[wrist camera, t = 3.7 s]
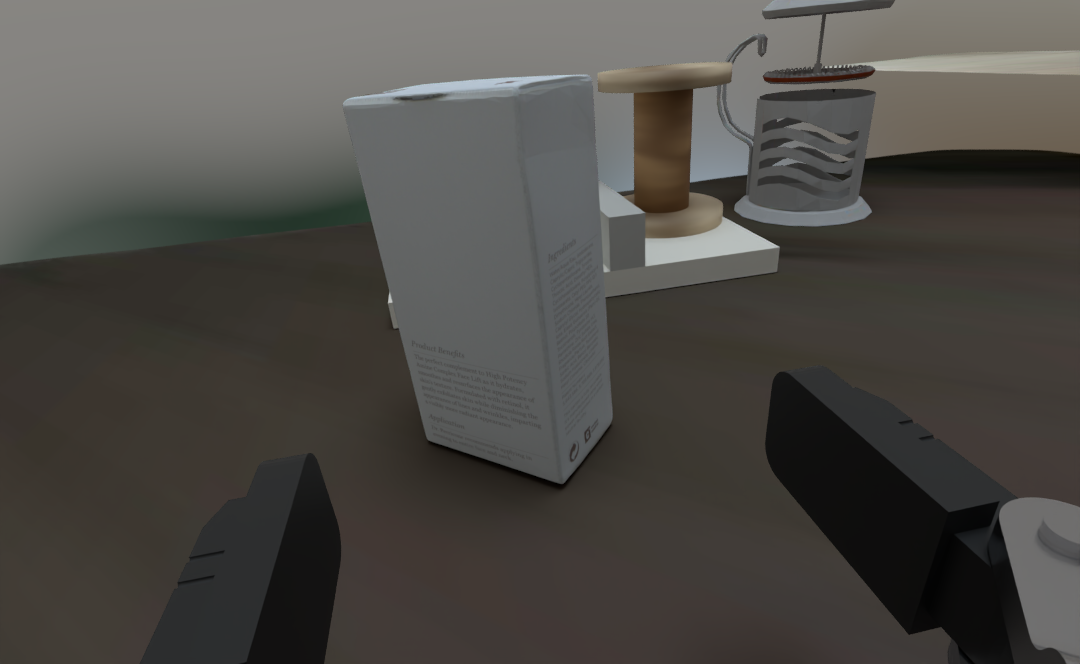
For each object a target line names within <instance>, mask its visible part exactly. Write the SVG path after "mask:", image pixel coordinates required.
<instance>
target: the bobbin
mask: <svg viewBox="0 0 1080 664" xmlns="http://www.w3.org/2000/svg"><path fill="white" fill-rule="evenodd" d="M731 77H732V63H731V62H704V63H687V64H670V65H658V66H647V67H636V68H627V69H618V70H611V71H605V72H600V73H598V91H599V92H603V93H604V92H605V93H634V194H633V195H628V196H624V198H625V199H627V200H628V201H629V202H631V203H632V204H634V205H635V206H636V207H638V208H639V209H641V210H642V211H643V212H645V238H677V237H686V236H692V235H697V234H701V233H705V232H708V231H710V230H713V229H715V228H716V227H718V226H719V225H720V224H721V223H722V216H723V203H722V202H721V201H720V200H718V199H716V198H714V197H711V196H708V195H703V194H698V193H689V185H690V158H691V132H692V104H693V89H695V88H703V87H711V86H717V85H722V84H727V83H730V82H731Z"/></svg>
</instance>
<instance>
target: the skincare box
mask: <svg viewBox="0 0 1080 664" xmlns="http://www.w3.org/2000/svg"><path fill="white" fill-rule="evenodd" d="M343 110H344V114H345V118H346V121H347V125H348V129H349V133H350V137H351V141H352V145H353V148H354V152H355V156H356V160H357V164H358V169H359V172H360V176H361V180H362V184H363V188H364V192H365V196H366V200H367V204H368V208H369V212H370V216H371V220H372V224H373V228H374V232H375V235H376V239H377V243H378V247H379V251H380V255H381V259H382V263H383V267H384V271H385V275H386V279H387V283H388V287H389V291H390V295H391V299H392V303H393V307H394V311H395V315H396V319H397V323H398V327H399V331H400V335H401V339H402V342H403V346H404V350H405V354H406V359H407V362H408V366H409V369H410V373H411V378H412V382H413V386H414V390H415V394H416V398H417V402H418V406H419V410H420V414H421V418H422V423H423V426H424V430H425V434H426V438H427V439H428V440H429V441H431V442H434V443H437V444H440V445H443V446H447V447H450V448H453V449H456V450H459V451H462V452H465V453H468V454H471V455H474V456H477V457H480V458H483V459H486V460H489V461H492V462H495V463H498V464H501V465H504V466H507V467H510V468H513V469H516V470H519V471H522V472H525V473H528V474H531V475H534V476H537V477H540V478H544V479H547V480H550V481H553V482H556V483H559V484H563V483H565V482H566V480H567V479H568V478H569V477H570V476H571V474H572V473H573V472H574V471H575V470H576V468H577V467H578V466H579V465H580V464H581V463H582V461H583V460H584V459H585V457H586V456H587V455H588V453H589V452H590V451H591V449H592V448H593V447H594V446H595V444H596V443H597V442H598V441H599V439H600V438H601V436H602V435H603V434H604V432H605V431H606V430H607V428H608V427H609V426H610V424H611V421H612V418H613V414H612V401H611V386H610V366H609V349H608V335H607V318H606V300H605V285H604V268H603V253H602V235H601V215H600V201H599V182H598V169H597V155H596V146H595V117H594V99H593V86H592V79H591V77H590V76H589V75H561V76H530V77H511V78H495V79H482V80H468V81H458V82H446V83H434V84H423V85H417V86H411V87H406V88H401V89H396V90H391V91H385V92H380V93H374V94H368V95H363V96H358V97H353V98H349V99H347V100H346V101H344V104H343Z"/></svg>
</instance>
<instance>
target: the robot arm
mask: <svg viewBox="0 0 1080 664" xmlns="http://www.w3.org/2000/svg"><path fill="white" fill-rule="evenodd" d="M765 447H766V454H767V458H768V462H769V464H770V467H771V469H772V471H773V472H774V474H775V475H776V477H777V478H778V479H779V481H780V482H781V483H782V484H783V485H784V486H785V488H786V489H787V490H788V491H789V492H790V494H791V495H792V496H793V497H794V498H795V500H796V501H797V502H798V503H799V504H800V506H801V507H802V508H803V509H804V510H805V511H806V513H807V514H808V515H809V516H810V517H811V519H812V520H813V521H814V522H815V523H816V525H817V526H818V527H819V528H820V529H821V531H822V532H823V533H824V534H825V535H826V537H827V538H828V539H829V540H830V541H831V542H832V544H833V545H834V546H835V547H836V548H837V550H838V551H839V552H840V553H841V554H842V556H843V557H844V558H845V559H846V560H847V562H848V563H849V564H850V565H851V566H852V567H853V569H854V570H855V571H856V572H857V573H858V575H859V576H860V577H861V578H862V579H863V581H864V582H865V583H866V584H867V585H868V587H869V588H870V589H871V590H872V591H873V593H874V594H875V595H876V596H877V597H878V598H879V600H880V601H881V602H882V603H883V604H884V606H885V607H886V608H887V609H888V610H889V612H890V613H891V614H892V615H893V616H894V618H895V619H896V620H897V621H898V622H899V623H900V625H901V626H902V627H903V628H904V629H905V631H906V632H907V633H908V634H909V635H910V634H914V633H918V632H922V631H926V630H930V629H934V628H938V627H942V628H943V629H944V630H945V632H946V633H947V634H948V635H949V636H950V637H951V638H952V639H951V642H950V645H949V648H948V664H1080V507H1077V506H1074V505H1071V504H1068V503H1065V502H1061V501H1057V500H1051V499H1045V498H1034V497H1032V498H1020V499H1019V498H1017V497H1016V496H1015V495H1013V494H1012V493H1011V492H1009V491H1008V490H1007V489H1005V488H1004V487H1003V486H1001V485H1000V484H999V483H997V482H996V481H994V480H993V479H992V478H990V477H989V476H988V475H986V474H985V473H984V472H982V471H981V470H980V469H978V468H977V467H976V466H974V465H973V464H972V463H970V462H969V461H968V460H966V459H965V458H964V457H962V456H961V455H960V454H958V453H957V452H955V451H954V450H953V449H951V448H950V447H949V446H947V445H946V444H945V443H943V442H942V441H941V440H939V439H936V440H935V439H934V437H933V434H931V433H930V432H929V431H927V430H926V429H925V428H923V427H922V426H921V425H919V424H918V423H916V424H914V423H913V421H912V419H911V418H910V417H908V416H907V415H906V414H904V413H903V412H902V411H900V410H899V409H898V408H896V407H895V406H894V405H892V404H891V403H890V402H888V401H886V400H884V399H882V398H879V397H877V396H875V395H872V394H870V393H868V392H866V391H863V390H861V389H859V388H856V387H855V388H853V387H851V386H850V385H849V384H848V383H846V382H845V381H844V380H842V379H841V378H840V377H839V376H837V375H836V374H835V373H833V372H832V371H831V370H829V369H828V368H826V367H824V366H821V365H818V366H812V367H807V368H801V369H795V370H790V371H784V372H779V373H778V374H777V375H776V376H775V378H774V380H773V384H772V391H771V399H770V407H769V416H768V424H767V432H766V441H765ZM189 558H190V562H189V563H186V565H185V567H184V570H183V572H182V574H181V576H180V578H179V580H178V588H177V589H174V591H173V593H172V595H171V598H170V600H169V602H168V604H167V606H166V608H165V610H164V613H163V615H162V617H161V619H160V621H159V623H158V626H157V628H156V630H155V632H154V634H153V636H152V638H151V641H150V643H149V645H148V647H147V649H146V651H145V653H144V656H143V658H142V660H141V662H140V664H324V660H325V654H326V648H327V642H328V636H329V629H330V623H331V617H332V611H333V605H334V599H335V592H336V586H337V580H338V574H339V568H340V561H341V540H340V532H339V527H338V523H337V519H336V516H335V513H334V510H333V507H332V504H331V501H330V498H329V495H328V492H327V489H326V485H325V482H324V479H323V476H322V473H321V470H320V467H319V464H318V461H317V459H316V457H315V456H314V455H313V454H312V453H308V454H303V455H297V456H291V457H286V458H280V459H274V460H268V461H263V462H261V463H260V465H259V466H258V468H257V471H256V473H255V476H254V478H253V481H252V483H251V486H250V488H249V491H248V494H247V496H246V497H243V498H238V499H232V500H228V502H227V503H226V504H225V505H224V506H223V507H222V508H221V509H220V510H219V511H218V512H217V513H216V514H215V515H214V516H213V517H212V519H211V520H210V521H209V522H208V523H207V524H206V525H205V526H204V527H203V529H202V531H201V533H200V535H199V537H198V539H197V542H196V544H195V546H194V548H193V550H192V552H191V555H190V557H189Z"/></svg>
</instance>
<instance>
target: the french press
mask: <svg viewBox="0 0 1080 664" xmlns="http://www.w3.org/2000/svg"><path fill="white" fill-rule="evenodd" d="M894 1H895V0H774V1H773V2H772V3H770V4H769V5H768V6H767V7H766V8H765V9H764V10H763V11H762V14H763V16H764V18H765V19H776V18H789V17H800V16H811V15H820V14H821V15H822V14H823V15H822V23H821V31H820V39H819V47H818V55H817V63H816V64H815V66H814V67H813V69H811V67H809V68H808V69H806V67H804V68H803V70H802V69H801V68H800V69H801V70H800V69H799V70H798V68H795V69H797V71H795V69H794V70H793V69H786V70H780V71H781V72H780V71H778V70H775V71H772V72H766V73H765V74H764V75H763V78H764V80H765V81H766V82H768V83H770V84H812V83H829V82H842V81H849V80H857V79H863V78H867V77H869V76H871V75H872V74H873V73H874V71H875V68H873V67H871V66H866V65H865V66H863V65H858V66H855V65H854V66H853V68H852V66H851V65H850V66H849V68H847V67H848V65H846V66H845V68H843V67H844V66H843V65H842V67H841V68H838V67H839V65H838V66H837V68H834V66H833V67H832V68H829V66H828V68H825V66H823V68H822V64H821V63H820V58H821V50H822V43H823V35H824V27H825V19H826V14H833V13H843V12H853V11H863V10H873V9H882V8H890V7H891V6H892V4H893V3H894ZM762 38H763V39H762ZM756 39H758V54H759V55H760V56H761V57H762V56H763V55H764V54H765V53H766V47H767V37H766V36H765V35H764V34H758V35H752V36H751V37H749V38H748V39H747V40H745V41H743V42H742V43H741V44H739V45H738V46H737V47H736V48H735V49H734V50H733V51H732V52H731V53H730V54H729V55H728V57H727V59H726V62H729V61H730V59H731V58H732V56H733V55H734V56H733V58H732V60H731V61H730V62H731V63H732V65H733V63H734V61H735V59H736V57H737V56H738V55H739V53H740V52H741V51H742V50H743V49H744V48H745V47H746V46H747V45H748V44H750V43H751V42H753V41H755V40H756ZM762 42H763V49H762ZM854 67H855V68H854ZM858 67H859V68H858ZM860 67H861V68H860ZM863 67H864V68H863ZM821 68H822V69H821ZM804 69H805V70H804ZM791 70H793V71H791ZM783 71H785V72H783ZM777 72H778V73H777ZM852 78H854V79H852ZM844 79H845V80H844ZM816 81H818V82H816ZM785 82H791V83H785ZM720 92H721V85H717V105H718V111H719V115H720V117H721V120H722V122H723V125H724V126H725V127H726V128H727V130H728V131H729V132H730V133H731V134H732V135H733V136H735V137H737V138H738V139H740V140H742V141H744V142H745V143H747V144H748V145H749V148H750V151H749V165H748V177H747V190H746V195H745V196H744V197H743V198H742V199H740V200H739V201H738V202H737V203H736V204H735V208H734V211H736V212H737V213H738V214H740V215H741V216H743V217H745V218H749V219H752V220H756V221H759V222H764V223H771V224H779V225H787V226H826V225H837V224H846V223H850V222H853V221H857V220H861V219H864V218H865V217H867V216H868V215H869V214H870V213H871V212H872V211H871V209H870V207H869V206H868V204H867V203H866V202H865V201H864V200H863V199H862V197H860V196H859V191H860V185H861V179H862V173H863V167H864V161H865V155H866V149H867V143H868V137H869V131H870V125H871V119H872V113H873V107H874V102H875V96H876V92H874V91H870V90H862V89H817V90H800V91H788V92H779V93H772V94H766V95H763V96H760V99H757V109H756V121H755V132H754V137H753V136H751V135H750V134H748V133H746V132H744V131H742V130H740V128H739V127H738V126H737V125H736V124H735V123H734V122H733V121H732V119H731V116H730V113H729V111H728V108H727V103H726V84H723V94H722V99H723V104H724V110H725V113H726V116H727V118H728V121H729V123H730V124H731V125H732V126H733V127H734V128H735V129H736V130H737V131H738V132H739V133H741V134H743V135H745V136H746V137H748V138H750V139H752V141H753V142H754V143H753V146H752V144H751V142H750V141H748V140H747V139H745V138H743V137H742V136H740V135H738V134H736V133H735V132H734V131H733V130H732V129H731V128H730V127H729V126H728V125H727V123H726V121H725V118H724V115H723V113H722V109H721V103H720ZM786 117H787V118H786ZM780 118H785V119H783V120H781V121H779V122H777V119H780ZM801 122H806V123H811V124H813V125H815V126H818V127H820V128H822V129H825V130H827V131H829V132H832V133H835V134H837V135H838V136H840V137H843V138H846V139H848V140H851V141H852V142H851V143H848V144H847V145H845V144H838V143H836V142H834V141H832V140H830V139H828V138H827V137H825V136H823V135H821V134H819V133H817V132H811V131H805V130H796V129H791V128H787V127H786V126H789V125H793V124H797V123H801ZM784 127H786V128H784ZM856 130H859V131H856ZM794 140H796V141H800V142H804V143H806V144H809V145H811V146H813V147H816V148H818V149H820V150H823V151H825V152H827V153H833V154H840V155H843V156H845V157H848V158H853V159H851V160H850V161H848V162H846V163H844V164H843V163H840V162H838V161H836V160H834V159H832V158H830V157H828V156H827V155H825V154H823V153H821V152H819V151H818V150H816V149H811V148H805V147H796V148H787V147H778V146H780V145H782V144H783V143H786V142H790V141H794ZM777 147H778V148H777ZM786 158H790V159H793V160H797V161H801V162H804V163H806V164H803V163H794V164H790V165H786V166H783V165H781V166H772V165H773V164H775V163H777V162H779V161H781V160H782V159H786ZM826 172H830V173H839V174H846V175H852V176H851V177H850V178H848V179H846V180H844V181H841V180H839V179H837V178H835V177H833V176H831V175H829V174H827V173H826Z"/></svg>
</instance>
